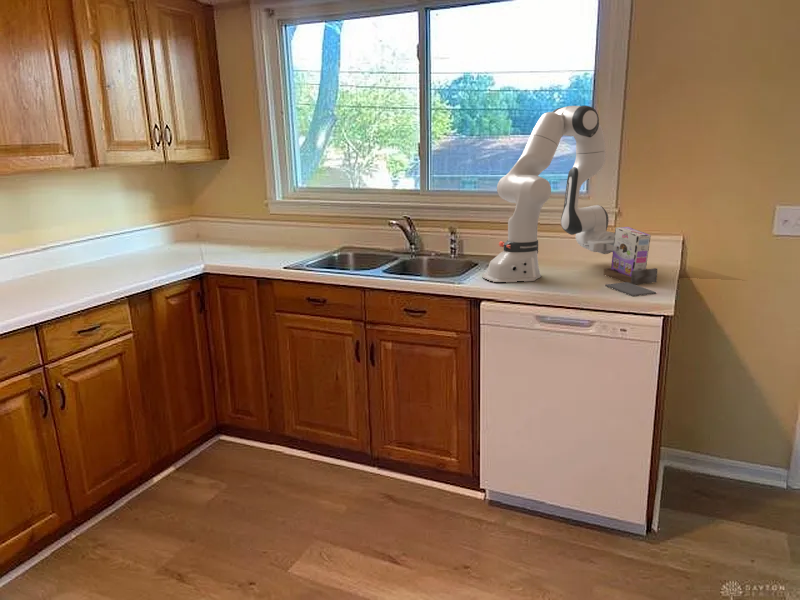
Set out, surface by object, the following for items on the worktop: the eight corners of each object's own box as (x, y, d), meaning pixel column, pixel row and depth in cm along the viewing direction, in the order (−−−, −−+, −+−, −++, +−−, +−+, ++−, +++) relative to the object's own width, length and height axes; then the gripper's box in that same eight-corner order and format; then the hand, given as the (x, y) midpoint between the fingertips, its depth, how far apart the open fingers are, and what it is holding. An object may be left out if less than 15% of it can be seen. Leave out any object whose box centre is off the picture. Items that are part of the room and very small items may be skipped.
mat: (632, 296, 208) (632, 294, 208) (605, 286, 223) (605, 284, 222) (656, 293, 210) (656, 292, 210) (627, 283, 225) (627, 282, 225)
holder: (632, 285, 223) (633, 271, 221) (603, 275, 239) (604, 262, 238) (656, 282, 225) (657, 268, 224) (626, 272, 242) (627, 259, 241)
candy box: (645, 278, 227) (651, 234, 221) (631, 279, 225) (637, 235, 220) (623, 267, 239) (628, 225, 234) (609, 268, 238) (615, 226, 232)
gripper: (581, 236, 241) (601, 241, 228) (627, 232, 246) (649, 238, 234) (580, 252, 243) (600, 258, 230) (626, 248, 248) (648, 254, 235)
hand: (625, 248), depth 232 cm, fingers closed on candy box, 6 cm apart
